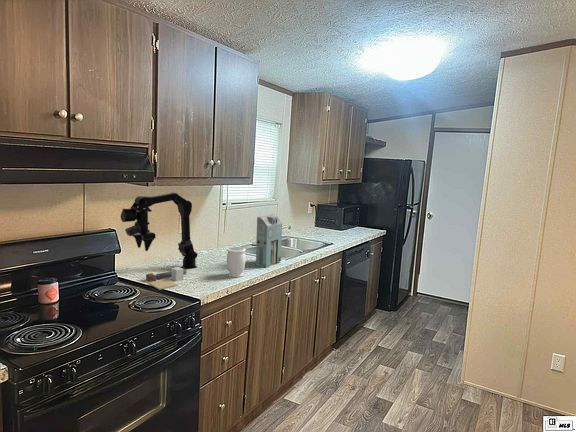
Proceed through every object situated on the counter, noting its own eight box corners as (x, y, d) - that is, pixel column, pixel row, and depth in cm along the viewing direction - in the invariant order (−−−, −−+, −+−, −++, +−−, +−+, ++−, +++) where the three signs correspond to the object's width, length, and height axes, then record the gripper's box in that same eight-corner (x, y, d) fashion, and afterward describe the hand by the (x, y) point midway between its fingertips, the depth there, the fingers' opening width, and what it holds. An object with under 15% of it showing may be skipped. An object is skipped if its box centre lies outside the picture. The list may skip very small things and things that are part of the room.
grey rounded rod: (184, 273, 223) (184, 268, 223) (187, 274, 221) (187, 269, 221) (154, 279, 211) (154, 273, 210) (156, 280, 209) (156, 275, 208)
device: (266, 267, 240) (267, 218, 235) (255, 265, 244) (256, 217, 239) (280, 262, 253) (282, 215, 249) (270, 260, 257) (272, 214, 253)
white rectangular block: (178, 277, 215) (178, 266, 214) (183, 279, 211) (183, 268, 210) (171, 279, 212) (171, 268, 211) (176, 281, 208) (176, 270, 208)
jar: (239, 279, 216) (240, 251, 214) (222, 276, 220) (223, 249, 218) (248, 274, 226) (249, 248, 224) (232, 271, 230) (232, 245, 227)
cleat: (151, 278, 211) (151, 273, 210) (156, 281, 207) (156, 275, 207) (146, 279, 209) (146, 274, 208) (150, 282, 205) (150, 276, 205)
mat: (166, 279, 210) (166, 278, 210) (177, 285, 201) (177, 284, 201) (148, 283, 203) (148, 282, 203) (159, 289, 194) (159, 288, 194)
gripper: (119, 219, 212) (120, 248, 214) (134, 224, 199) (135, 255, 201) (140, 217, 220) (140, 245, 222) (155, 222, 206) (156, 252, 209)
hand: (142, 249), depth 213 cm, fingers open, 9 cm apart
